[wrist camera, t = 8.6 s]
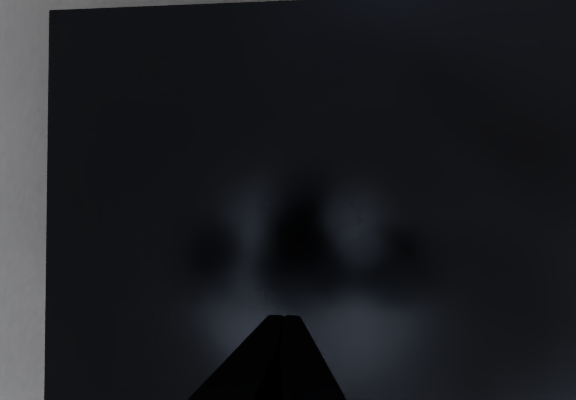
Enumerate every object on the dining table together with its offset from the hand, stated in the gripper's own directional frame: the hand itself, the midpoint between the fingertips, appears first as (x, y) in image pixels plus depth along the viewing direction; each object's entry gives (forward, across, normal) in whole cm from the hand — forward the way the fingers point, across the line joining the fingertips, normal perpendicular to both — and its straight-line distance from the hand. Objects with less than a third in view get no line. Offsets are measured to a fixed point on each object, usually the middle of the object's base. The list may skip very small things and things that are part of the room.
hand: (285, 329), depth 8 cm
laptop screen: (+6, -3, 0) cm, 7 cm away
